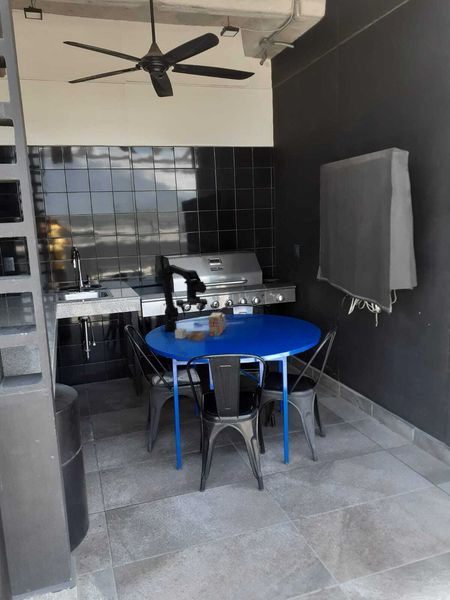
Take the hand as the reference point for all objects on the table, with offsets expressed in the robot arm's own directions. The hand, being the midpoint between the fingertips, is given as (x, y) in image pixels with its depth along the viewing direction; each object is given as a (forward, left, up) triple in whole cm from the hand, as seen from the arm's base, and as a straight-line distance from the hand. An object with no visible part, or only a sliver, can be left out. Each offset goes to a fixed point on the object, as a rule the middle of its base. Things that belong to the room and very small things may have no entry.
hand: (192, 315), depth 281 cm
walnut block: (+6, -6, -13) cm, 15 cm away
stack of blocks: (+10, +14, -13) cm, 22 cm away
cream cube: (-5, -6, -13) cm, 15 cm away
